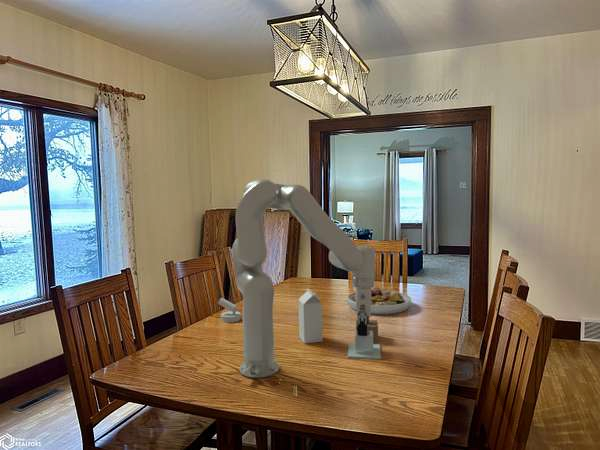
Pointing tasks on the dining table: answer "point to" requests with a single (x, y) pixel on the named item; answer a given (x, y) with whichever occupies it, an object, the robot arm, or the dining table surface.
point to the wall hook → (232, 314)
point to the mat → (375, 354)
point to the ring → (364, 343)
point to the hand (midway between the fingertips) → (362, 330)
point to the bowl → (384, 301)
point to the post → (372, 328)
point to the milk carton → (310, 318)
